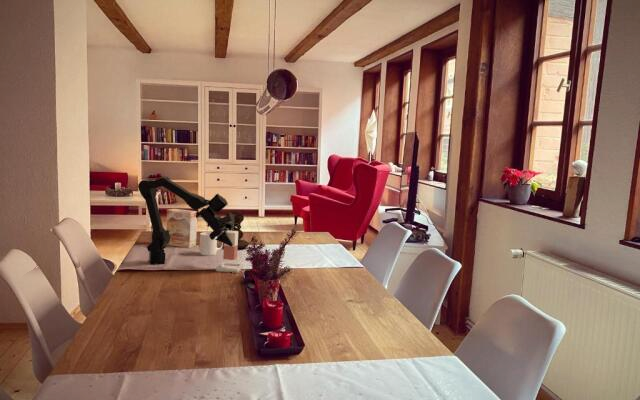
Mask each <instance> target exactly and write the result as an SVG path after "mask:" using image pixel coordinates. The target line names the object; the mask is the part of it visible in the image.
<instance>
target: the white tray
mask: <svg viewBox="0 0 640 400" xmlns="http://www.w3.org/2000/svg"><path fill="white" fill-rule="evenodd" d="M242 268H243V269H244V263H237V262H236V263H235V262H226V261H225V262H223V261H222V262H221V263H220V264H219V265H217V266H216V267H215V272H220V273H222V272H223V273H230V272H232V273H233V274H238V273H240V272H241V271H242V270H243V269H242ZM241 269H242V270H241ZM232 273H231V274H232Z"/></svg>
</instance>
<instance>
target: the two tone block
mask: <svg viewBox="0 0 640 400" xmlns="http://www.w3.org/2000/svg"><path fill="white" fill-rule="evenodd" d="M227 236H228V238H229V239H230V241H231V242H232V244H233V245H232V246H229V245H227V244H225V243H224V246H223V255H222V256H223V257H222V258H223V260H229V261H235V260H236V259H237V258H238V231H230V230H228V231H227Z"/></svg>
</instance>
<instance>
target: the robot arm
mask: <svg viewBox="0 0 640 400" xmlns="http://www.w3.org/2000/svg"><path fill="white" fill-rule="evenodd" d="M161 187H163V188H164V189H166V190H167V191H169V192H170V193H172V194H174V195H175V196H177V197H179V198H180V199H182V200H183V201H184V202H185V203H186V205H187V206H188V207H190V209H191V210H193V211H197V210H198V211H197V212H196V218H197V219H199V218H200V217H201V218H202V219H203V220H204V222H205V223H206V224H207V225H206V226H207V227H208V228H210V229H211V230H212V231H211V232H212V233H210V234H209V237H210V238H211V240H214V239H215V237H216V236H217V238H216V239H215V240H217V242H220V243H221V244H222V243H225V244H227V245H229V246H232V245H233V244H232V242H231V241H230V239H229V238H228V236H227V231H228V230H230V231H232V226H233V224H232V223H231V222H232V221H233V220H234V215H233V214H232V212H228V213H225V216H221V215H217V214H216V213H220V212H221V211H222V210H223V209H224V208H225V207H227V206H228V203H229V202H228V201H227V200H226V198H225V197H223V196H222V195H220V194H219V193H216V194H215V195H214V196H213V197H212V198H211V199H205V197H204V196H202V195H199V194H197V193H194V192H190V191H188V190H187V189H186V188H184V187H182V186H180V185H179V184H178V183H176V182H174V181H173V180H171V179H170V178H168V177H165V176H164V177H163V176H162V177H160V178H156V179H142V180H140V181H139V182H138V184H137V188H138V191H139V193H140V196H141V197H142V198H143V199H144V200H145V205H146V208H147V211H148V216H149V219H150V220H149V221H150V223H151V228H152V231H151V242H150V244H148V245H147V246H146V249H147V251H148V260H147V262H148V264H149V265H161V264H163V265H164V264H165V263H166V252H165V249H166V247H167V246H169V245H168V244H169V242H170V238H171V237H170V235H169V230H166V229H165V228H164V225H163V222H162V218H161V213H160V209H159V205H158V202H157V192H158V189H157V188H161ZM200 209H201V210H200Z"/></svg>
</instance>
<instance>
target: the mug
mask: <svg viewBox="0 0 640 400" xmlns="http://www.w3.org/2000/svg"><path fill="white" fill-rule="evenodd" d="M212 232H213V231H207V232H205V231H204V232H200V234H199V255H201V256H205V257H207V256H208V257H212V256H215V255H216V254H217V253H218V251H220V250H222V248H223V247H224V246H223V243H222V242H221V246H220V247H218V246H217V245H218V240H215V239H216V238H217V236H216V237H215V239H214V240H211V238H210V237H209V234H210V233H212Z"/></svg>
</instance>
